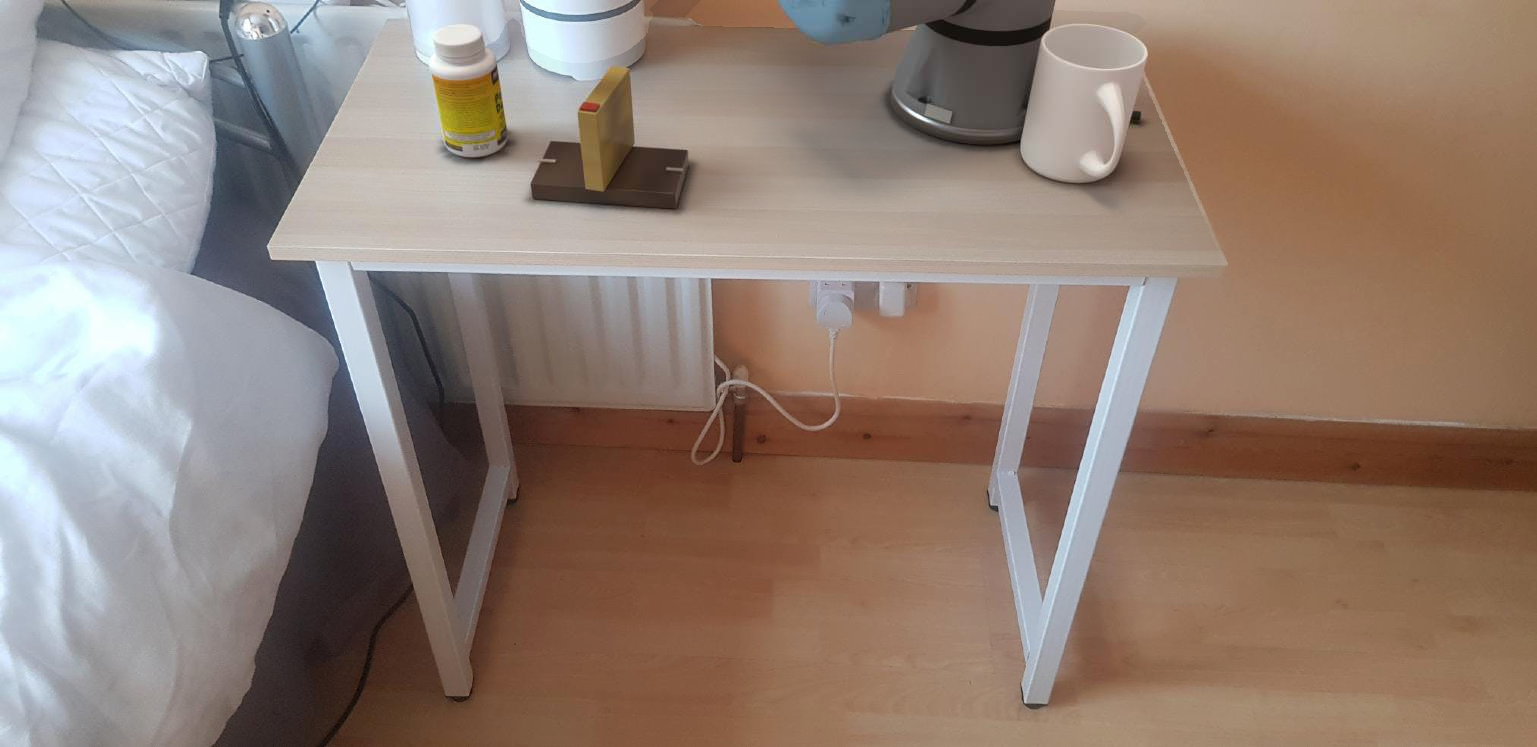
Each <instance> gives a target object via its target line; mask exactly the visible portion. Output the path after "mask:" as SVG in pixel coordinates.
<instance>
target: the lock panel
mask: <svg viewBox="0 0 1537 747" xmlns="http://www.w3.org/2000/svg"><path fill="white" fill-rule="evenodd" d="M538 163H539V165H538V167H537V169H536V171H535V173H534V175H533V177H532V179H531V182H530V191H531V192H530V193H531V198H532V200H541V201H542V200H544V201H545V200H546V201H557V202H558V201H559V202H560V201H561V202H573V203H589V204H600V205H616V206H631V207H641V208H643V207H644V208H657V209H673V210H676V209H677V207H678V203H679V199H680V196H681V191H682V189H683V186H684V182H685V178H686V174H687V171H688V169H689V168H688V167H689V150H688V149H680V148H665V147H663V148H662V147H650V146H636V145H635V146H634V145H633V147H632V148H631V150H630V151H629V153H628V155H627V156H626V158H625V159H624V161H623V162H622V164H621V165H620V167H619V169H618V170H617V172H616V173H615V175H614V176H613V178H612V179H611V181H610V183H609V184H608V186H607V187H606V189H605V190H604V191H596V190H589V189H586V188H585V179H584V170H583V160H582V151H581V142H576V141H562V140H561V141H559V140H550V142H549V144H548V146H547V147H546V150H545V152H544V154H543V156H542V158H539V160H538Z"/></svg>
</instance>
